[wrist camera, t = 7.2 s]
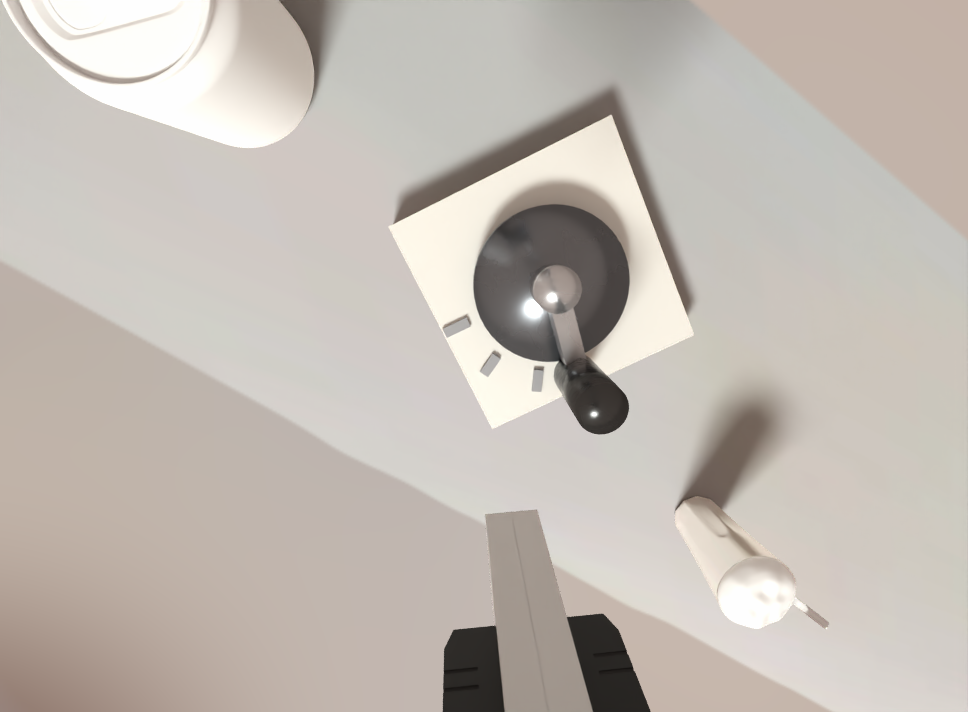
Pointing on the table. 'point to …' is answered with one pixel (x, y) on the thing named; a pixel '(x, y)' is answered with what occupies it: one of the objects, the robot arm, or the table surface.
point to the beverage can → (181, 61)
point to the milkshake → (738, 566)
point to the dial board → (487, 203)
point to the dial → (557, 301)
